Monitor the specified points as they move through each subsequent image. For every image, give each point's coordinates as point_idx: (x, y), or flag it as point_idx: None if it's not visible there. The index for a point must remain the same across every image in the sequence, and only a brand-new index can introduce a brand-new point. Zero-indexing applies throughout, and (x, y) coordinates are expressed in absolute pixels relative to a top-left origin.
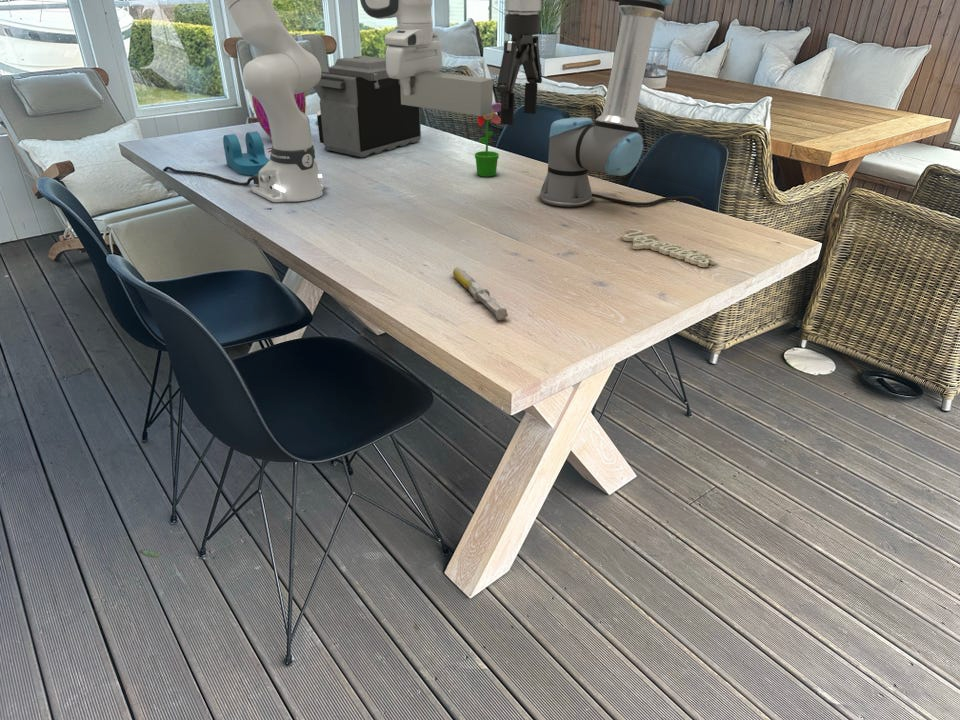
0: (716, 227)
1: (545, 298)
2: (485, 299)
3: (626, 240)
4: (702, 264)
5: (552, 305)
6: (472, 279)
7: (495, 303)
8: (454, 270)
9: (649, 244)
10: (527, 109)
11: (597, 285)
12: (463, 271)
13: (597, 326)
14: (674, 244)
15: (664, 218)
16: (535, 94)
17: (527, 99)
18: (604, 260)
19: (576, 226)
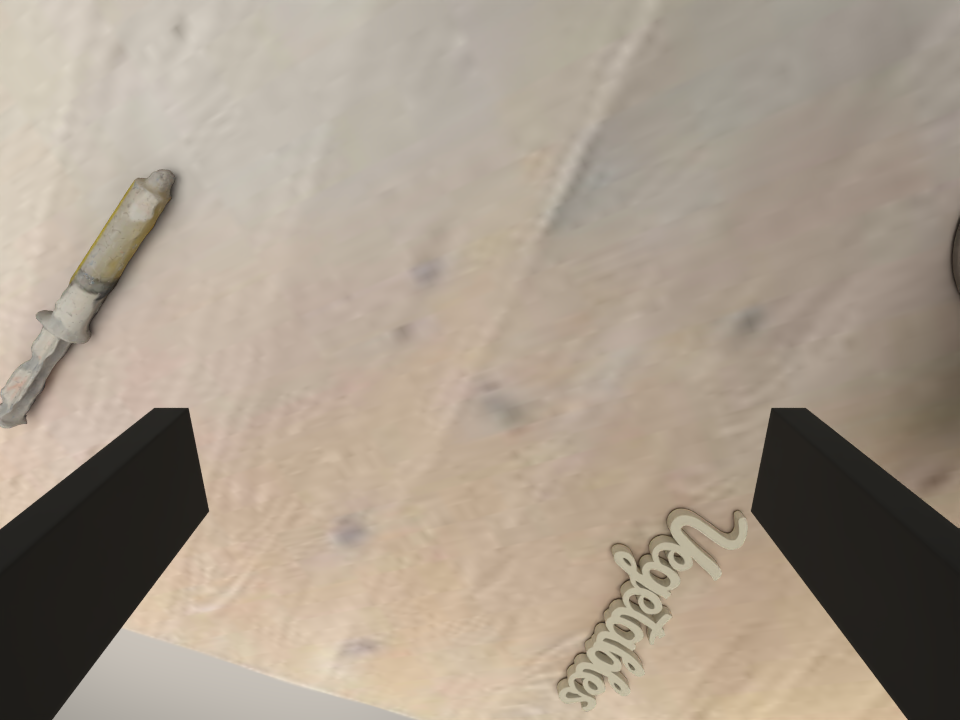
0: (858, 675)
1: (197, 451)
2: (34, 354)
3: (667, 519)
4: (558, 692)
5: None
6: (95, 276)
7: (21, 391)
8: (131, 185)
9: (635, 584)
10: (782, 460)
11: (339, 529)
12: (125, 224)
13: None
14: (659, 631)
15: None
16: (866, 663)
17: (851, 518)
18: (503, 503)
19: (753, 360)
